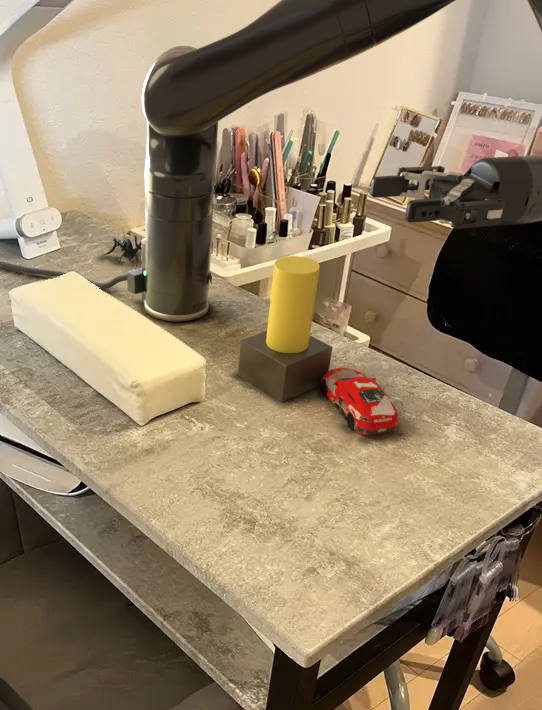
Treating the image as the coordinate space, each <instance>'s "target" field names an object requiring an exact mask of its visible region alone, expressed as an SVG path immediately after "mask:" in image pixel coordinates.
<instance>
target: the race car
mask: <svg viewBox="0 0 542 710" xmlns="http://www.w3.org/2000/svg"><path fill="white" fill-rule="evenodd" d="M320 389H321V392H322V394H323V395H324V396H327V398H328V399H329V401H331V403H332V404H333V405H334V407H335V408H336V409H337V411H338V412H339V413H340V415H341V416H342V417H343V418H344V420H346V423H347V426H348V428H349V429H350V430H354V431H355V432H357V433H359V434H362V435H367V436H368V435H369V436H374V435H382V434H388V433H390V434H391V433H394V432H395V431H397V427H398V422H399V417H398V411H397V408H396V407H395V405H393V402H392V401H391V400H390V398H389V397H388V395H387V393H386V392H385V391H384V389H383V388H382V387H381V386H380V384H378V382H377V381H376V377H367V376H366V375H365V374H364V373H362V372H361V371H359V370H356V369H353V368H349V367H336V368H332V369H329V372H327V373H326V374H324V376H323V377H322V379H321V385H320Z"/></svg>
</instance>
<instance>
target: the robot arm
mask: <svg viewBox="0 0 542 710" xmlns="http://www.w3.org/2000/svg"><path fill="white" fill-rule="evenodd" d="M455 1H457V0H279V1H278V2H277V3H276V4H274V5H273V6H272V7H270V8H269V9H268V10H266V11H265V12H264V13H262V14H261V15H260V16H258V17H257V18H256V19H254V20H253V21H252V22H251V23H249V24H247V25H246V26H244V27H243V28H241V29H239V30H237V31H235V32H233V33H232V34H229V35H228V36H225V37H223V38H221V39H218V40H216V41H213V42H211V43H209V44H207V45H204V46H201V47H199V48H197V47H193V46H191V45H178V46H173V47H170V48H169V49H167V50H165V51H164V52H162V53H161V54H160V55H159V56H158V57H157V58H156V60H155V61H154V62H153V64H152V66H151V68H149V71H148V74H147V75H146V78H145V80H144V83H143V88H142V94H141V105H142V111H143V114H144V117H145V119H146V121H147V123H146V126H147V128H146V129H147V133H146V135H147V136H146V137H147V139H146V140H147V141H146V152H145V153H146V155H145V157H146V158H145V165H144V234H145V235H144V237H143V238H144V239H143V238H142V239H143V240H142V239H141V240H142V245H141V247H142V250H141V267H138V268H136V269H132V270H128V271H127V273H125V274H120V275H116V276H115V277H113V278H112V279H110V280H109V281H105V282H98V281H94V280H90V279H88V278H86V279H87V280H88V281H90V282H91V283H93V284H95V285H96V286H98V287H100V288H101V290H105V289H111V288H113V287H114V286H116V285H117V284H119V283H121V282H126V281H127V291H128V292H130V293H132V294H134V295H138V294H140V293H141V303H142V304H144V311H145V312H146V313H147V314H148V315H150V316H151V317H152V318H156V319H158V320H162V321H167V322H189V321H194V320H197V319H199V318H202V317H204V316H205V315H206V314H207V313H208V311H209V305H210V301H209V296H210V295H209V293H210V285H211V287H212V283H213V275H212V273H211V257H212V256H211V255H212V237H213V220H214V219H213V215H214V198H215V197H214V195H215V183H216V182H215V179H216V169H217V168H216V167H217V154H218V132H219V122H220V121H222V120H223V119H225V118H226V117H228V116H229V115H231V114H233V113H235V112H236V111H238V110H240V109H241V108H242V107H244V106H246V105H248V104H249V103H251V102H253V101H254V100H257V99H258V98H260V97H262V96H264V95H267V94H268V93H270V92H274V91H275V90H278V89H281V88H283V87H285V86H289V85H291V84H294V83H297V82H299V81H301V80H304V79H307V78H308V77H311V76H313V75H316V74H318V73H321V72H323V71H325V70H327V69H330V68H332V67H334V66H337V65H339V64H342V63H344V62H346V61H348V60H350V59H353V58H355V57H356V56H359V55H361V54H363V53H366V52H367V51H369V50H371V49H373V48H374V47H378V46H379V45H382V44H383V43H385V42H387V41H388V40H390V39H392V38H394V37H396V36H398V35H400V34H402V33H404V32H405V31H407V30H409V29H411V28H412V27H415V26H416V25H417V24H420V23H421V22H423V21H424V20H426V19H428V18H429V17H431V16H433V15H434V14H435V13H438V12H439V11H440V10H442V9H444V8H447V6H449V5H450V4H452V3H454V2H455ZM526 1H527V3H528V5H529V7H530V9H531V11H532V13H533V15H534V17H535V20H536V22H537V24H538V27H539V29H540V31H541V33H542V0H526ZM445 169H446V168H445V167H444V166H442V165H436V166H435V165H434V166H406V167H405V166H401V167H398V168H397V173H396V174H395V175H382V176H381V175H379V176H373V178H372V179H371V182H370V188H369V192H368V193H369V195H370V196H371V198H375V199H376V198H377V199H379V198H391V197H404V198H411V200H409V201H407V203H406V208H405V212H404V217H403V218H404V220H405V221H406V222H408V223H423V222H424V223H425V222H433V221H434V222H437V223H440V224H442V225H443V224H444V225H445V224H448V223H451V224H450V227H451V228H452V229H455V230H460V229H471V228H487V227H501V226H513V225H524V224H525V225H526V224H531V223H536V222H540V221H542V155H535V154H534V155H532V154H531V155H515V156H497V157H496V156H495V157H494V156H493V157H483V158H480V159H478V160H477V161H475V162H474V163H473V164H472V165H471V166H470V167H469V168H468V170H467V171H466V172H465V173H464V174H463V173H462V172H459V171H448V172H445ZM410 181H412V182H411V183H410ZM426 191H428V196H426V195H425V193H426ZM0 267H3V268H7V269H10V270H14V271H19V272H23V273H26V274H27V273H29V274H34V275H39V276H48V277H54V278H58V277H57V276H60V275H63V274H66V273H67V272H66V271H60V270H55V269H53V270H52V269H46V268H39V267H38V268H37V267H33V266H28V265H23V264H18V263H14V262H10V261H6V260H3V259H0Z"/></svg>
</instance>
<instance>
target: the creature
mask: <svg viewBox="0 0 542 710" xmlns="http://www.w3.org/2000/svg"><path fill="white" fill-rule="evenodd" d="M122 234H123V238H124V239H123V240H122V241H121V240H120V239H118V240H117V238H116V237H112V238H113V240H112V241H113V246H112V248H111V249H110V250H109V251H107V252H106V253H104V254H101V255H100V258H103V257H104V256H109V255H111V254H112V253H113V252H114V251H115V250H116V248H118V247H120V251H121V252H122V254H121V255H120V257H119V258H118V256H117V257H116V256H112V258H113V259H116V261H117V263H118V264H120V263H121V260H122V258H126V259H127V260H128V262H129V263H130V262H131V261H132V260H133V259H134V257H135V261H137V262H138V261H139V260H138V255H137V254H140V253H141V251H142V240H143V239H144V238H145V237H143V238H142V239H141V240H140V241H139V243H138V238H137V235H136V234H134V235H133V237H134V245H135V248H134V246H133V243H132V241H131V239H130V238H128V237H126V236H125V231H124V228H123V227H122ZM139 250H140V251H139Z"/></svg>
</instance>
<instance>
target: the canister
mask: <svg viewBox="0 0 542 710" xmlns="http://www.w3.org/2000/svg"><path fill="white" fill-rule="evenodd" d="M320 269H321V265H320V264H319V262H318V261H316V260H315V259H313V258H309V257H305V256H300V255H299V256H297V255H288V256H282V257H279V258H278V259H276V260H275V261H274V263H273V271H272V272H273V273H272V282H271V291H270V301H269V308H268V309H269V311H268V319H267V329H266V331H267V337H266V344H267V346H268V347H269V348H271V349H273V350H275V351H277V352H281V353H299V352H302V351H304V350H306V349H307V348H308V345H309V338H310V336H311V331H312V325H313V317H314V310H315V303H316V297H317V289H318V284H319V283H318V282H319V275H320Z"/></svg>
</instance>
